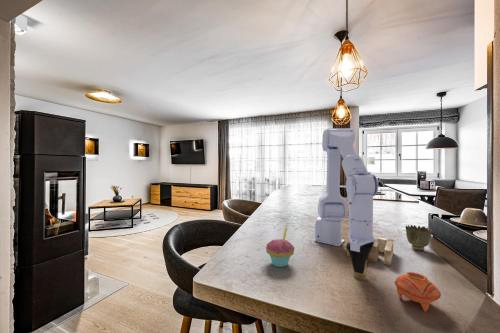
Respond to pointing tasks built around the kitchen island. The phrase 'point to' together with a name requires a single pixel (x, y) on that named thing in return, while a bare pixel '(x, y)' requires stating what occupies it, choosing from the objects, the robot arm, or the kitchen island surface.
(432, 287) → the orange ridged rounded piece
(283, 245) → the cupcake
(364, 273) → the tab block
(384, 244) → the beige blocky multi-part fixture
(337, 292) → the kitchen island surface
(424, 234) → the cup
